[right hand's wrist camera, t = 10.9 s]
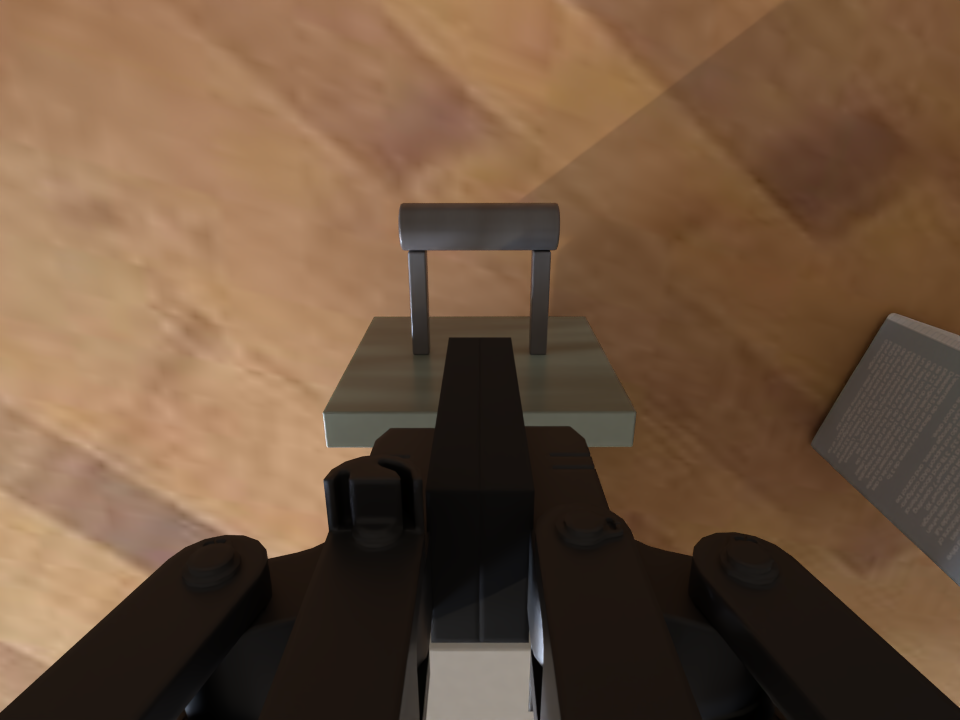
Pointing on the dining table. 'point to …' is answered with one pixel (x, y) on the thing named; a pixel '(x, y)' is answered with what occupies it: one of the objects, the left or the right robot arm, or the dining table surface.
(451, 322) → the drawer
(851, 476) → the hard drive box
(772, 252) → the dining table surface
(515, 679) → the white carton
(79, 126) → the dining table surface
